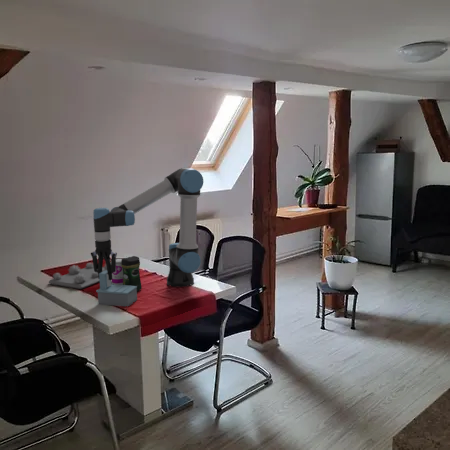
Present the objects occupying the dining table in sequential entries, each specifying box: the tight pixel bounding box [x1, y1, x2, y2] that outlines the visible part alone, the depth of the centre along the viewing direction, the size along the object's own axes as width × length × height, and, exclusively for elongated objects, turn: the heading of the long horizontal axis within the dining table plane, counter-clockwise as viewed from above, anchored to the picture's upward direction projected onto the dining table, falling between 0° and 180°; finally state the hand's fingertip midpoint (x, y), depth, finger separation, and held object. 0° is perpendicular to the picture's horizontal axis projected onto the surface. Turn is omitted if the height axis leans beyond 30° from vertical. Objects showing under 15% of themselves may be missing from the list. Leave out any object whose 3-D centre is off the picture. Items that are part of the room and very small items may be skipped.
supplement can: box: [111, 258, 123, 285], centre depth 248 cm, size 8×8×15 cm
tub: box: [97, 288, 138, 307], centre depth 224 cm, size 16×10×6 cm, turn 76°
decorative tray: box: [48, 262, 107, 290], centre depth 263 cm, size 35×26×10 cm
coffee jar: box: [121, 255, 143, 292], centre depth 240 cm, size 10×8×19 cm
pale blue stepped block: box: [95, 270, 137, 294], centre depth 223 cm, size 17×11×9 cm, turn 76°
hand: (105, 285), depth 225 cm, fingers closed on pale blue stepped block, 3 cm apart
